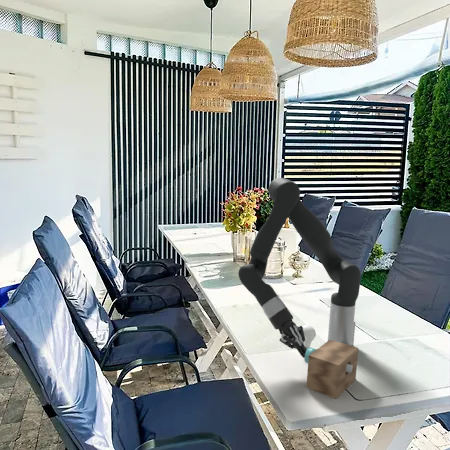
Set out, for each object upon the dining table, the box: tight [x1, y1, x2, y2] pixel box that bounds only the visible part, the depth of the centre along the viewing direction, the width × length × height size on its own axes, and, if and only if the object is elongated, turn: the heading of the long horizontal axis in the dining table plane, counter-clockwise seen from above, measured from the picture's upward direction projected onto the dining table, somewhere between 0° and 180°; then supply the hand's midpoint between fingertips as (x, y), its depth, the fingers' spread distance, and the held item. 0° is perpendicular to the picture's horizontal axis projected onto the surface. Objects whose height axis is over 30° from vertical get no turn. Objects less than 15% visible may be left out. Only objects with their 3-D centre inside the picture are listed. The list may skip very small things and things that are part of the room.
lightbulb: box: [301, 324, 317, 349], centre depth 165 cm, size 6×6×11 cm
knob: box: [304, 346, 353, 373], centre depth 145 cm, size 15×5×5 cm, turn 53°
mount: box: [306, 340, 359, 400], centre depth 144 cm, size 12×16×11 cm
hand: (306, 356), depth 150 cm, fingers closed
